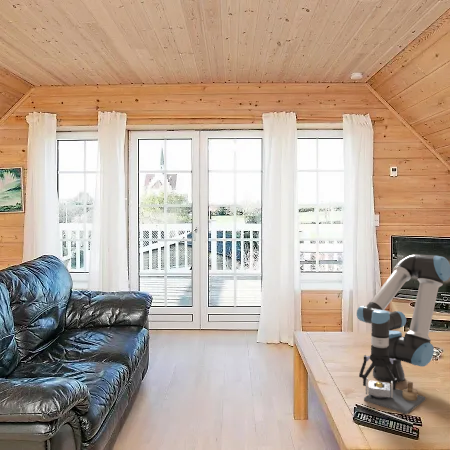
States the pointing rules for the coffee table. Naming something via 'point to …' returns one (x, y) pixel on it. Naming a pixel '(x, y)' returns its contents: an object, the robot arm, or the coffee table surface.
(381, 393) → the square hole frame
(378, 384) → the cylinder
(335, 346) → the coffee table surface
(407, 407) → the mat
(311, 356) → the coffee table surface
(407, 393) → the stand
